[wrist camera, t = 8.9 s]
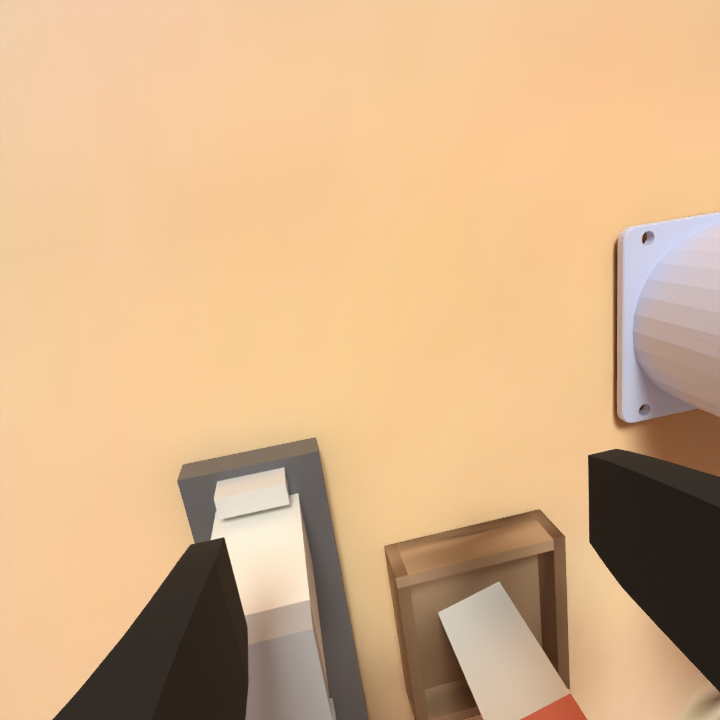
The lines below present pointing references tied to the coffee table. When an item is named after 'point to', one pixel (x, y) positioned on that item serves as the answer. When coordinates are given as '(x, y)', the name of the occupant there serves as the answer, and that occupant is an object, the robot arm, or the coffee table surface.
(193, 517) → the block
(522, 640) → the red cap fuse
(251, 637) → the block
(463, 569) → the tray
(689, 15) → the coffee table surface
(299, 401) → the coffee table surface
